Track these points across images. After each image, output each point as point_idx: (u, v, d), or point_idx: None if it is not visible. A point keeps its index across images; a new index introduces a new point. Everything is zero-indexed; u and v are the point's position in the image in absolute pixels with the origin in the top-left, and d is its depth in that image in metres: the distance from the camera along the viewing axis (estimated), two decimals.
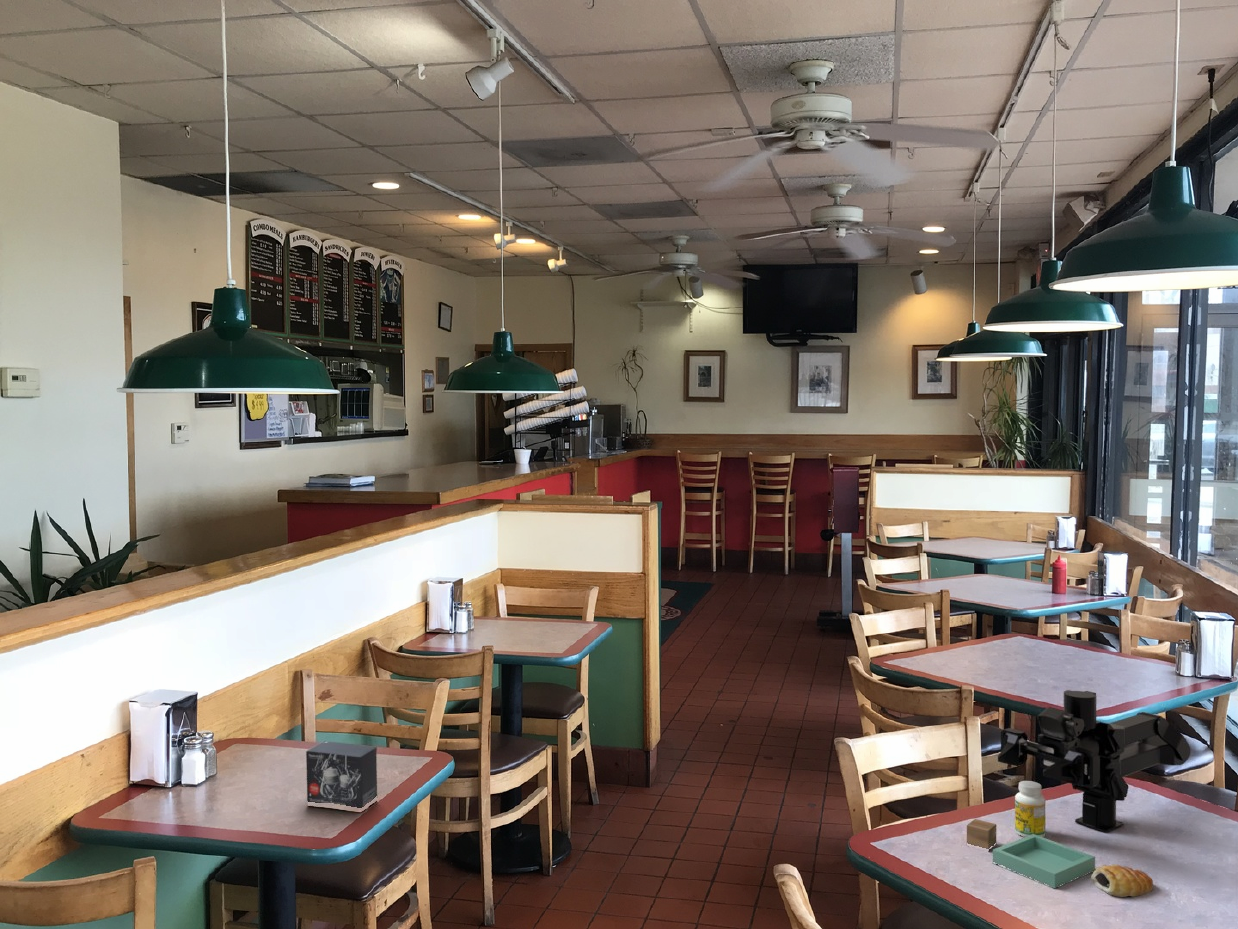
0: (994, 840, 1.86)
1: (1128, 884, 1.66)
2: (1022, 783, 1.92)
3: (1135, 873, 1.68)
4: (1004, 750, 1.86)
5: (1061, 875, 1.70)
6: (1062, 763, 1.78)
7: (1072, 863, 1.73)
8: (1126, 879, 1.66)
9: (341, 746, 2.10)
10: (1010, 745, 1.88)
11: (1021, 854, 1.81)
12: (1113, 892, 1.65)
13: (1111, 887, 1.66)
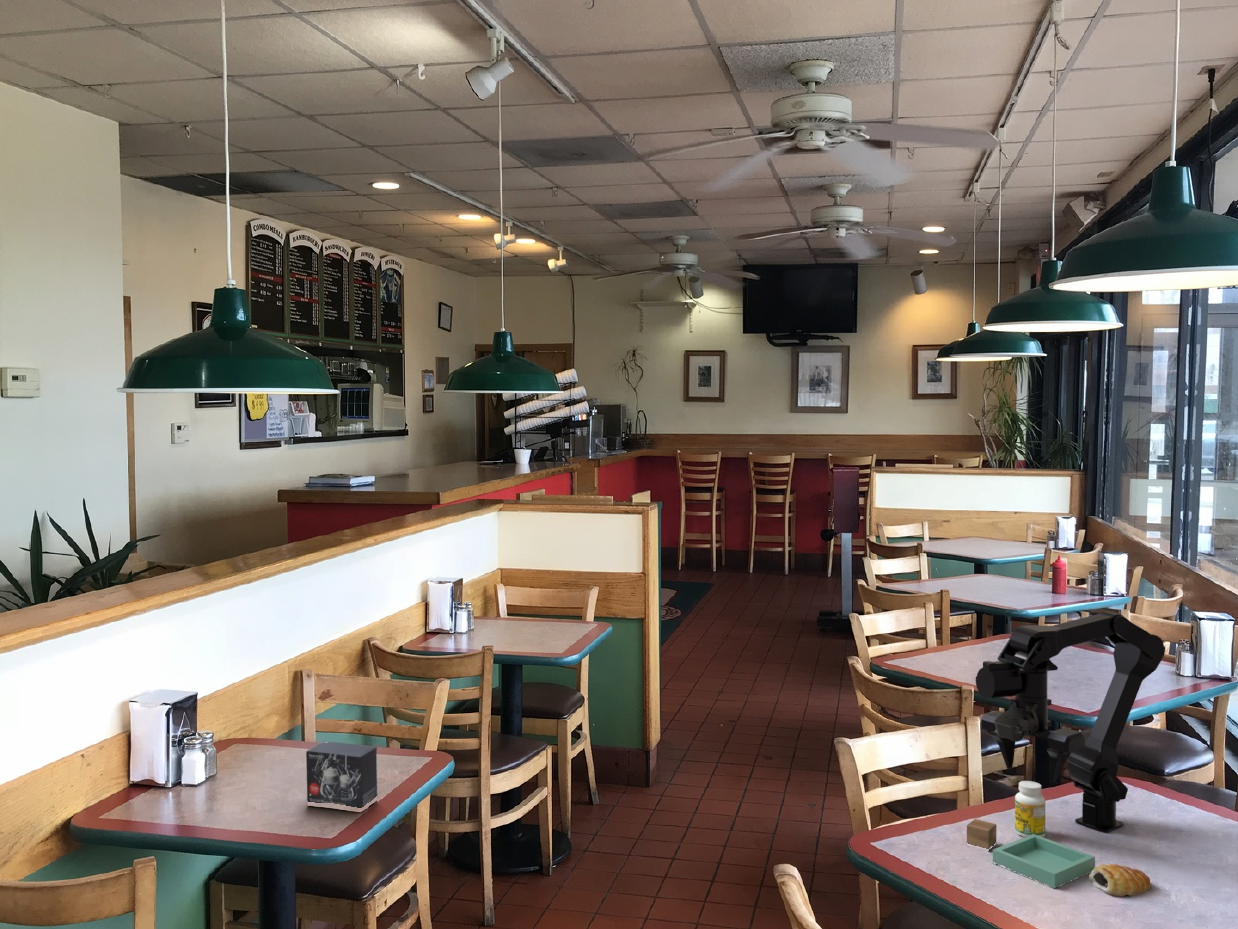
0: (994, 840, 1.86)
1: (1126, 883, 1.66)
2: (1022, 783, 1.92)
3: (1133, 872, 1.68)
4: (1004, 756, 1.95)
5: (1061, 875, 1.70)
6: (1054, 764, 1.85)
7: (1072, 863, 1.73)
8: (1124, 878, 1.66)
9: (341, 746, 2.10)
10: (1001, 745, 1.94)
11: (1021, 854, 1.81)
12: (1112, 892, 1.66)
13: (1109, 886, 1.66)
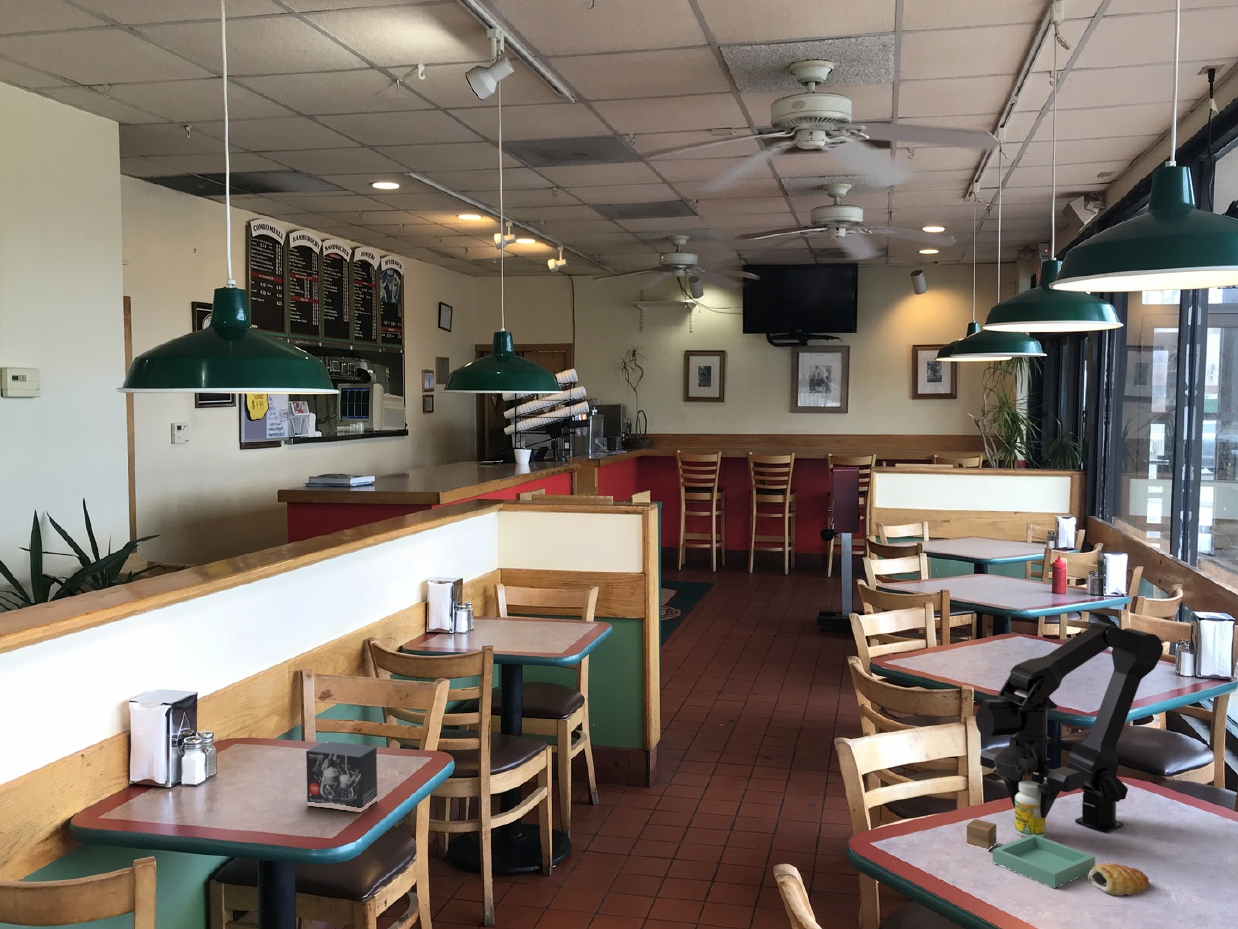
0: (994, 840, 1.86)
1: (1125, 882, 1.66)
2: (1022, 783, 1.92)
3: (1131, 871, 1.69)
4: (1011, 796, 1.93)
5: (1061, 875, 1.70)
6: (1045, 800, 1.87)
7: (1072, 863, 1.73)
8: (1123, 877, 1.67)
9: (341, 746, 2.10)
10: (1008, 784, 1.93)
11: (1021, 854, 1.81)
12: (1111, 891, 1.66)
13: (1108, 886, 1.66)
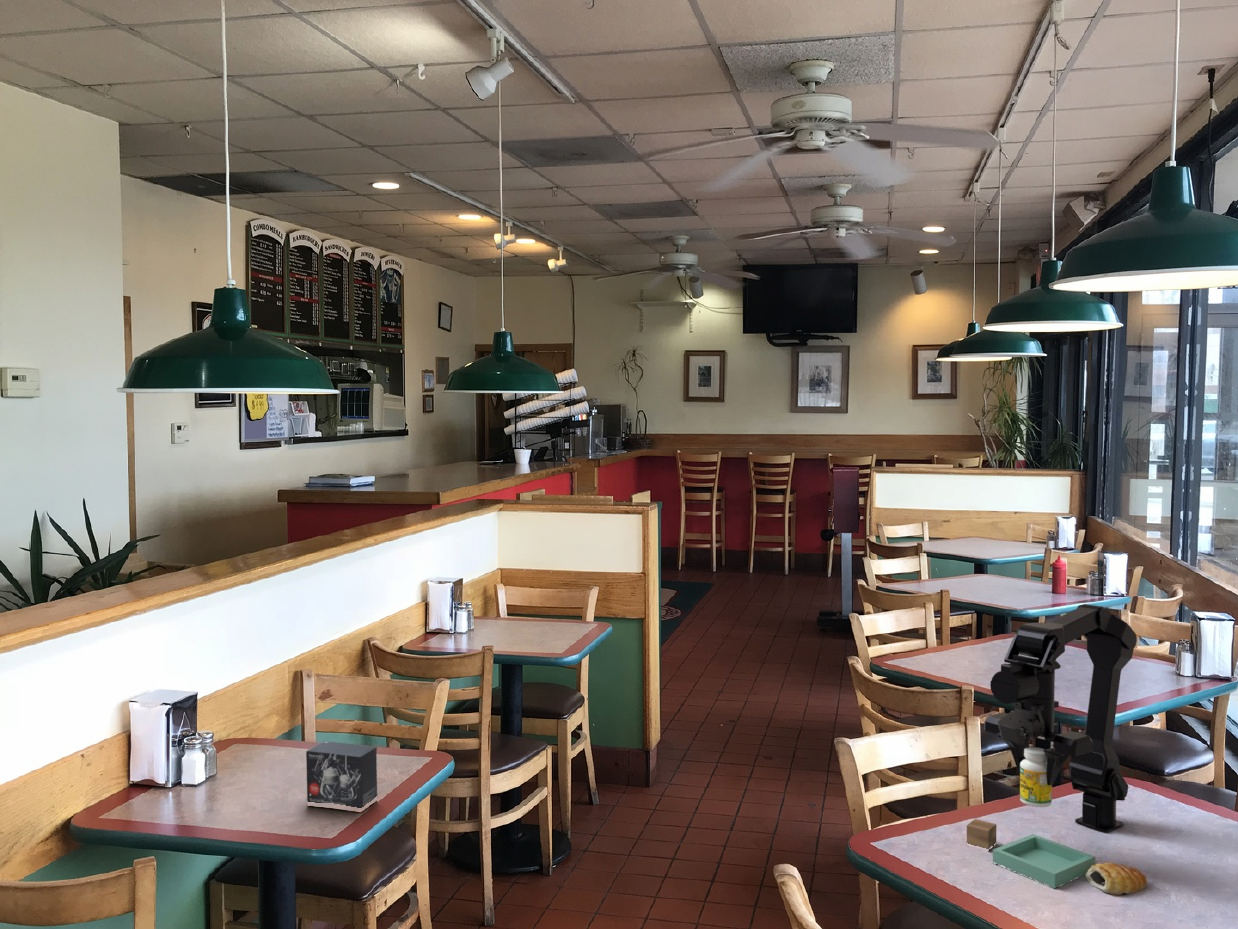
0: (994, 840, 1.86)
1: (1123, 881, 1.66)
2: (1028, 749, 1.83)
3: (1129, 870, 1.69)
4: (1016, 763, 1.85)
5: (1061, 875, 1.70)
6: (1051, 766, 1.78)
7: (1072, 863, 1.73)
8: (1121, 876, 1.67)
9: (341, 746, 2.10)
10: (1014, 750, 1.85)
11: (1021, 854, 1.81)
12: (1109, 890, 1.66)
13: (1107, 885, 1.66)
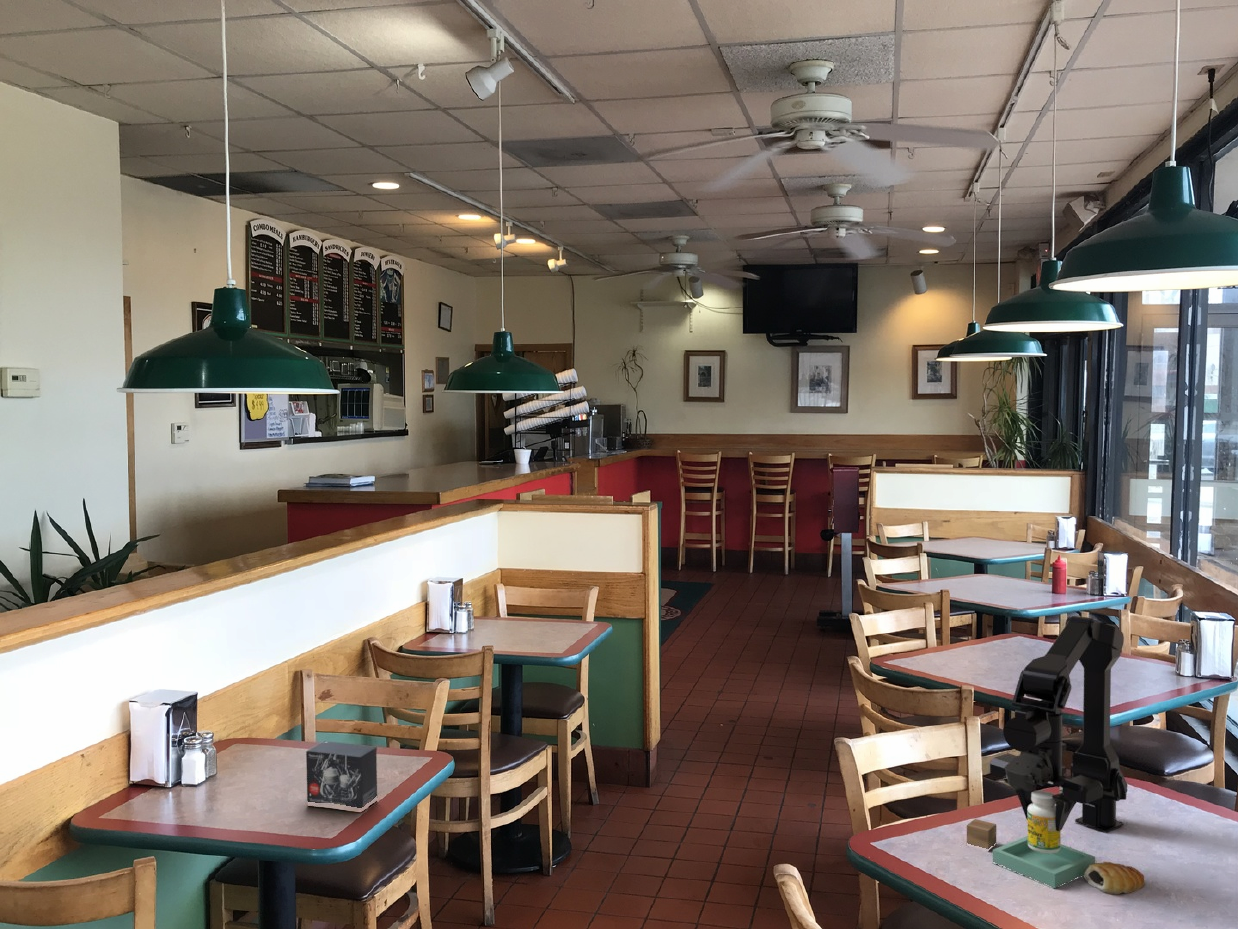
0: (994, 840, 1.86)
1: (1122, 881, 1.67)
2: (1035, 793, 1.77)
3: (1127, 870, 1.69)
4: (1023, 807, 1.79)
5: (1061, 875, 1.70)
6: (1060, 812, 1.73)
7: (1072, 863, 1.73)
8: (1119, 876, 1.67)
9: (341, 746, 2.10)
10: (1020, 794, 1.79)
11: (1021, 854, 1.81)
12: (1108, 889, 1.66)
13: (1105, 884, 1.67)
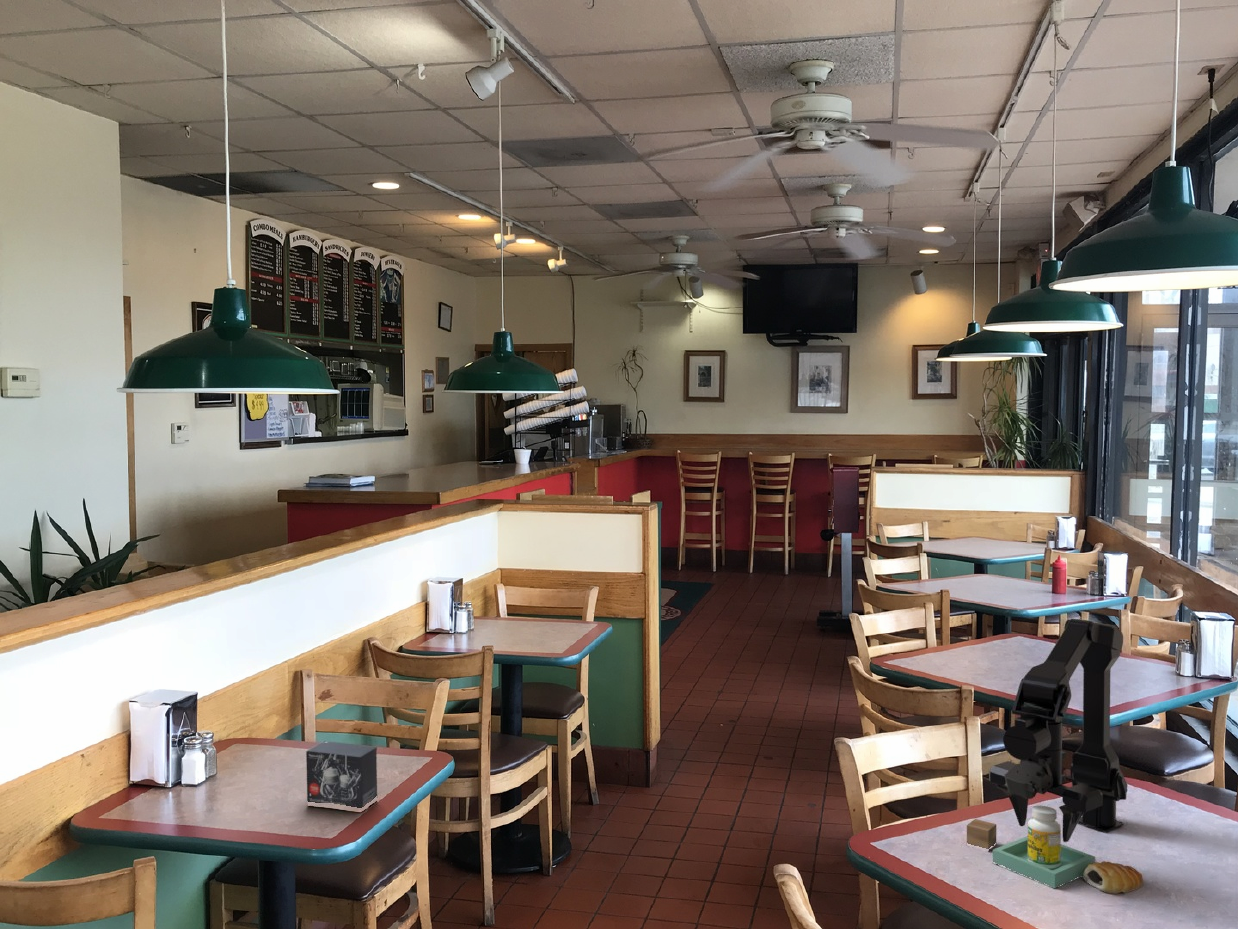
0: (994, 840, 1.86)
1: (1121, 880, 1.67)
2: (1036, 808, 1.77)
3: (1126, 869, 1.69)
4: (1016, 812, 1.80)
5: (1061, 875, 1.70)
6: (1067, 823, 1.72)
7: (1072, 863, 1.73)
8: (1118, 875, 1.67)
9: (341, 746, 2.10)
10: (1013, 800, 1.80)
11: (1021, 854, 1.81)
12: (1106, 889, 1.67)
13: (1104, 884, 1.67)
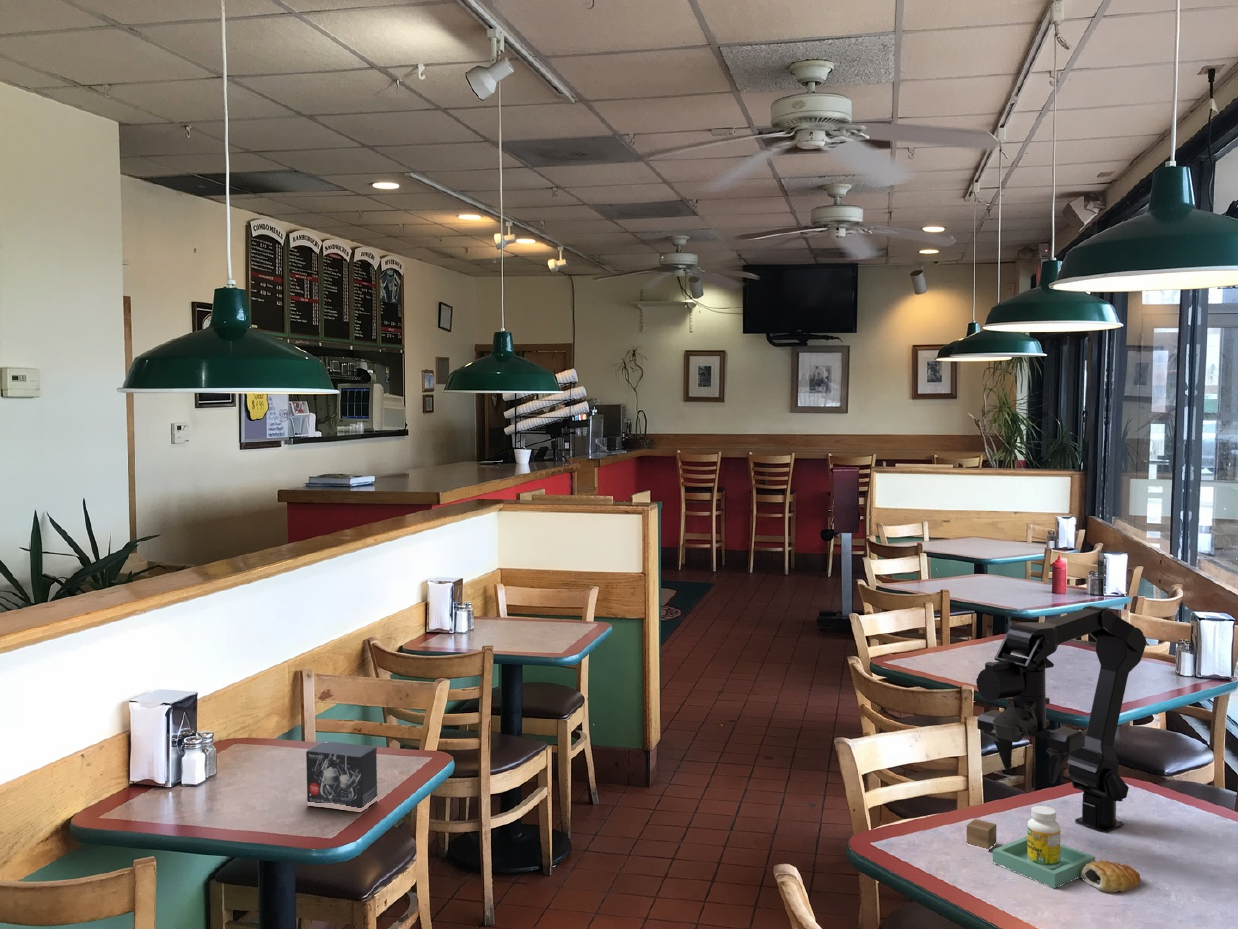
0: (994, 840, 1.86)
1: (1119, 879, 1.67)
2: (1035, 809, 1.77)
3: (1123, 868, 1.70)
4: (1001, 757, 1.90)
5: (1061, 875, 1.70)
6: (1054, 764, 1.81)
7: (1072, 863, 1.73)
8: (1116, 874, 1.68)
9: (341, 746, 2.10)
10: (999, 745, 1.90)
11: (1021, 854, 1.81)
12: (1105, 888, 1.67)
13: (1102, 883, 1.67)
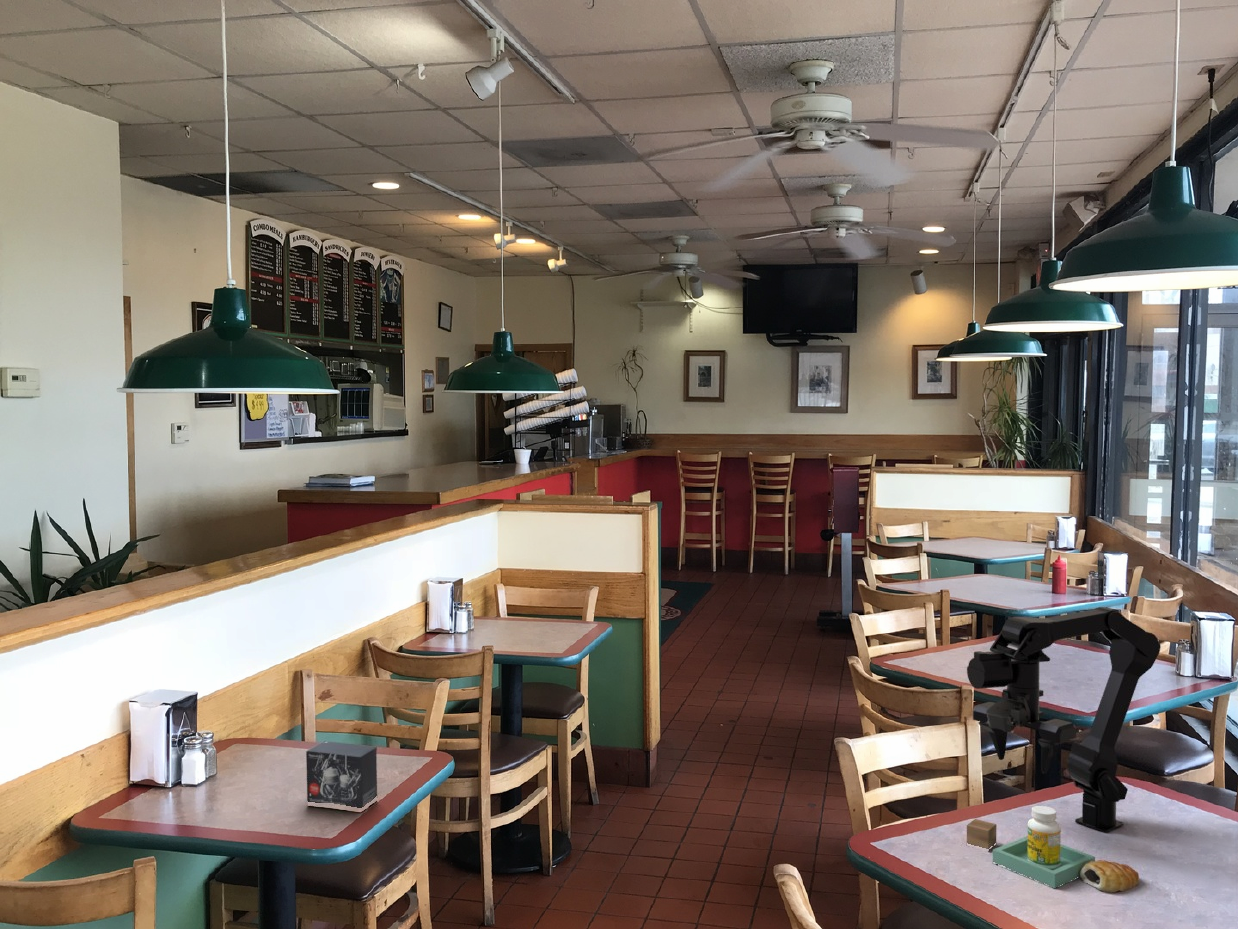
0: (994, 840, 1.86)
1: (1118, 879, 1.68)
2: (1035, 808, 1.77)
3: (1122, 868, 1.70)
4: (996, 747, 1.95)
5: (1061, 875, 1.70)
6: (1045, 755, 1.86)
7: (1072, 863, 1.73)
8: (1115, 874, 1.68)
9: (341, 746, 2.10)
10: (993, 736, 1.95)
11: (1021, 854, 1.81)
12: (1104, 888, 1.67)
13: (1102, 883, 1.67)
